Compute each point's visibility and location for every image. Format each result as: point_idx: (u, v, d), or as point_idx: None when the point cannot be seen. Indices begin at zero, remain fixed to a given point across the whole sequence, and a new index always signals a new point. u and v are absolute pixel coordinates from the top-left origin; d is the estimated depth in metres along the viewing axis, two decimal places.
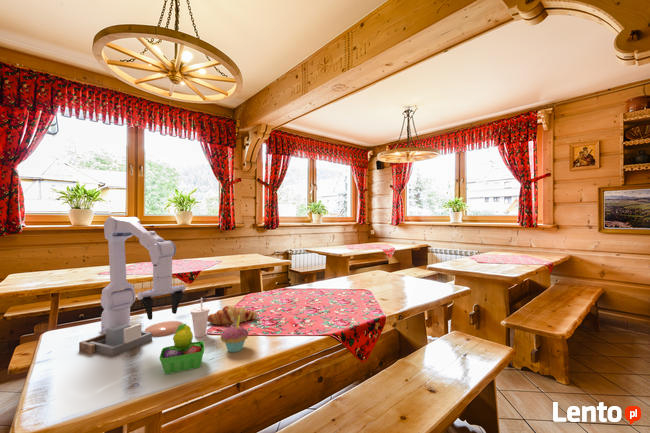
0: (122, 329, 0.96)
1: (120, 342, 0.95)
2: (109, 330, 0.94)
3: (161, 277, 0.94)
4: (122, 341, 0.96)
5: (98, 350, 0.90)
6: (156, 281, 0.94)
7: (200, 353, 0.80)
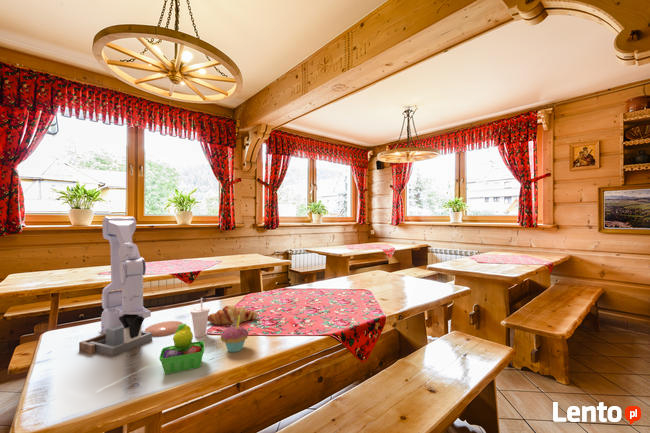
0: (122, 329, 0.96)
1: (120, 342, 0.95)
2: (109, 330, 0.94)
3: (122, 296, 0.92)
4: (122, 341, 0.96)
5: (98, 350, 0.90)
6: None
7: (200, 353, 0.80)
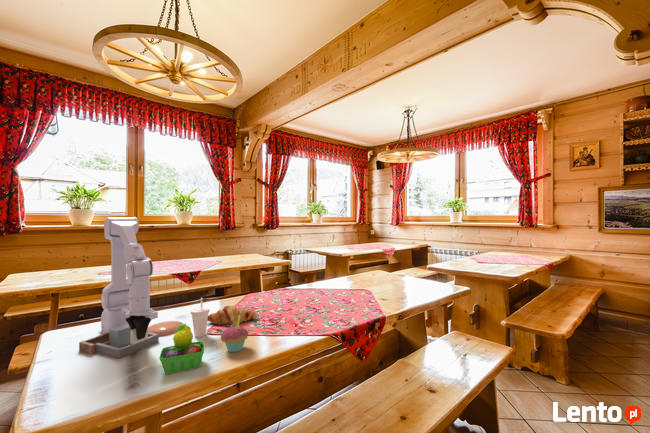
0: (126, 330, 0.95)
1: (124, 343, 0.95)
2: (113, 331, 0.94)
3: (129, 297, 0.90)
4: (126, 342, 0.95)
5: (104, 351, 0.89)
6: None
7: (200, 353, 0.80)
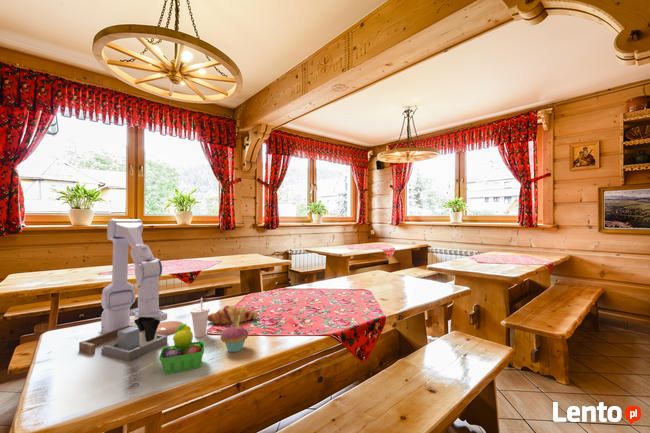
0: (134, 332, 0.94)
1: (132, 345, 0.93)
2: (121, 333, 0.92)
3: (138, 298, 0.89)
4: (134, 344, 0.94)
5: (113, 354, 0.87)
6: None
7: (200, 353, 0.80)
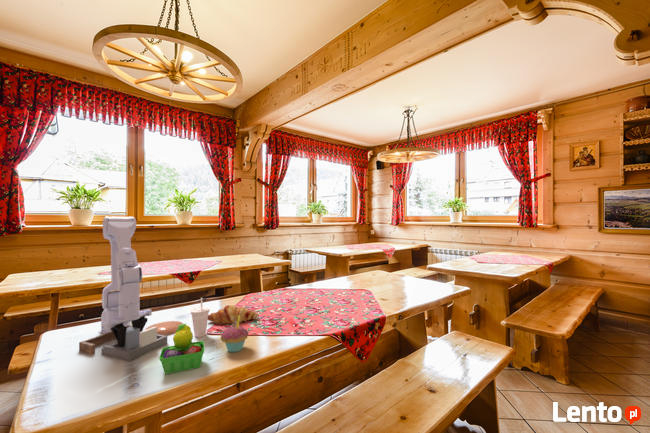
0: (134, 331, 0.94)
1: (132, 345, 0.93)
2: None
3: (130, 303, 0.92)
4: (134, 344, 0.94)
5: (113, 354, 0.87)
6: (124, 308, 0.91)
7: (200, 353, 0.80)
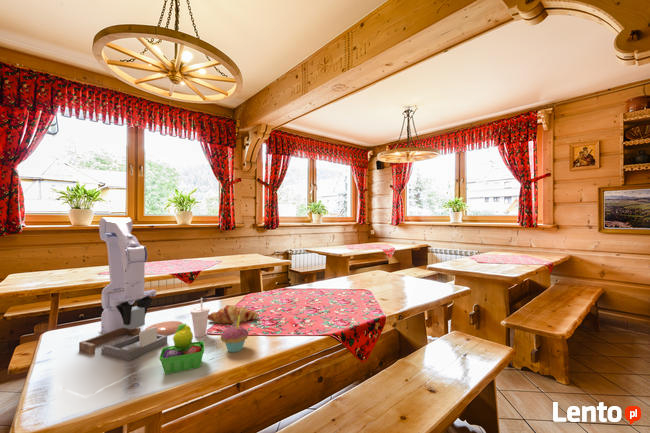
0: (139, 310, 0.96)
1: (137, 323, 0.95)
2: None
3: (135, 282, 0.94)
4: (139, 322, 0.96)
5: (113, 354, 0.87)
6: (130, 287, 0.93)
7: (200, 353, 0.80)
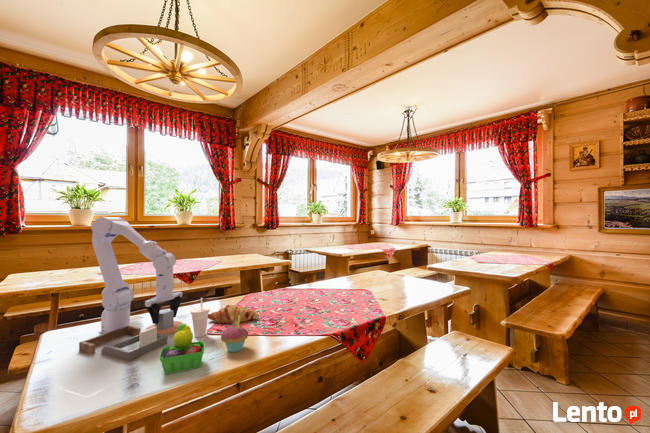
0: (169, 313, 1.08)
1: (168, 324, 1.08)
2: None
3: (166, 285, 1.07)
4: (169, 324, 1.08)
5: (113, 354, 0.87)
6: (161, 289, 1.06)
7: (200, 353, 0.80)
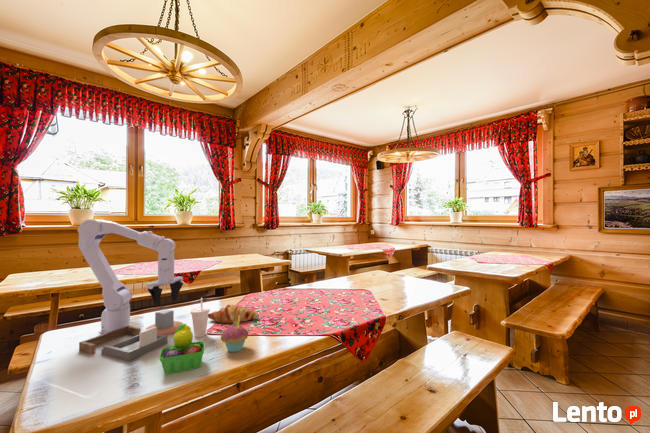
0: (169, 313, 1.08)
1: (168, 324, 1.08)
2: (158, 314, 1.07)
3: (167, 269, 1.11)
4: (169, 324, 1.08)
5: (113, 354, 0.87)
6: (163, 273, 1.10)
7: (200, 353, 0.80)
